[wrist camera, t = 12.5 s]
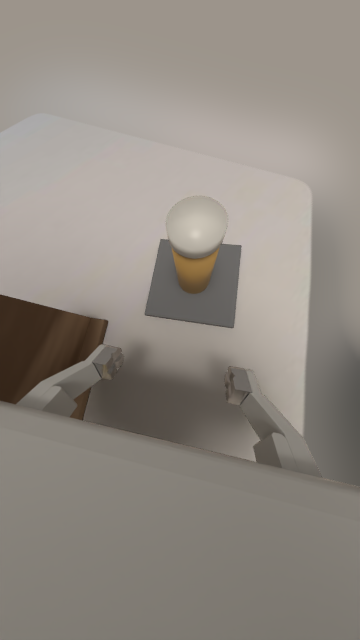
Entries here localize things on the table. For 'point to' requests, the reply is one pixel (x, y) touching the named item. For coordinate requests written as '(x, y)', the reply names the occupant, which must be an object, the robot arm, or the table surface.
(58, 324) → the wooden stand
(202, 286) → the pill bottle
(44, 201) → the table surface
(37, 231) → the table surface
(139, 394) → the table surface
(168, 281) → the mat
